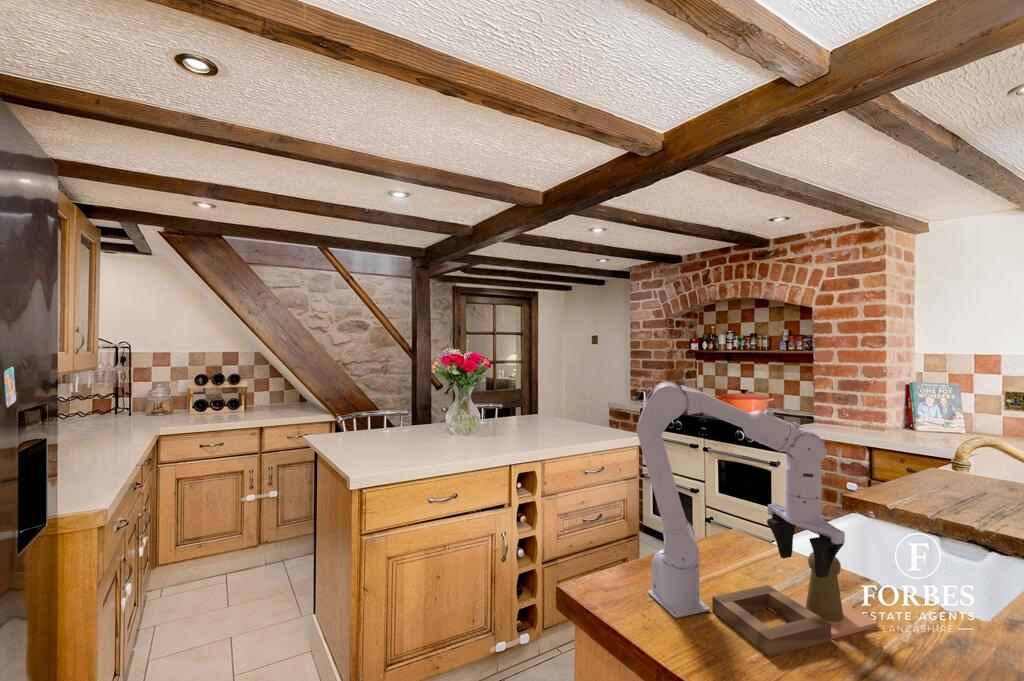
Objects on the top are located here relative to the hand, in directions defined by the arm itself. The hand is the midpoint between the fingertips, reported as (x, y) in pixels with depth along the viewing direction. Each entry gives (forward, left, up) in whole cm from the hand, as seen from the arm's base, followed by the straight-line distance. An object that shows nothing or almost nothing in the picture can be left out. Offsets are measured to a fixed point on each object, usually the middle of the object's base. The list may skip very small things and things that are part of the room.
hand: (803, 566), depth 89 cm
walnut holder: (-1, -7, -10) cm, 13 cm away
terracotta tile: (0, +6, -10) cm, 12 cm away
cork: (0, +5, -10) cm, 11 cm away
